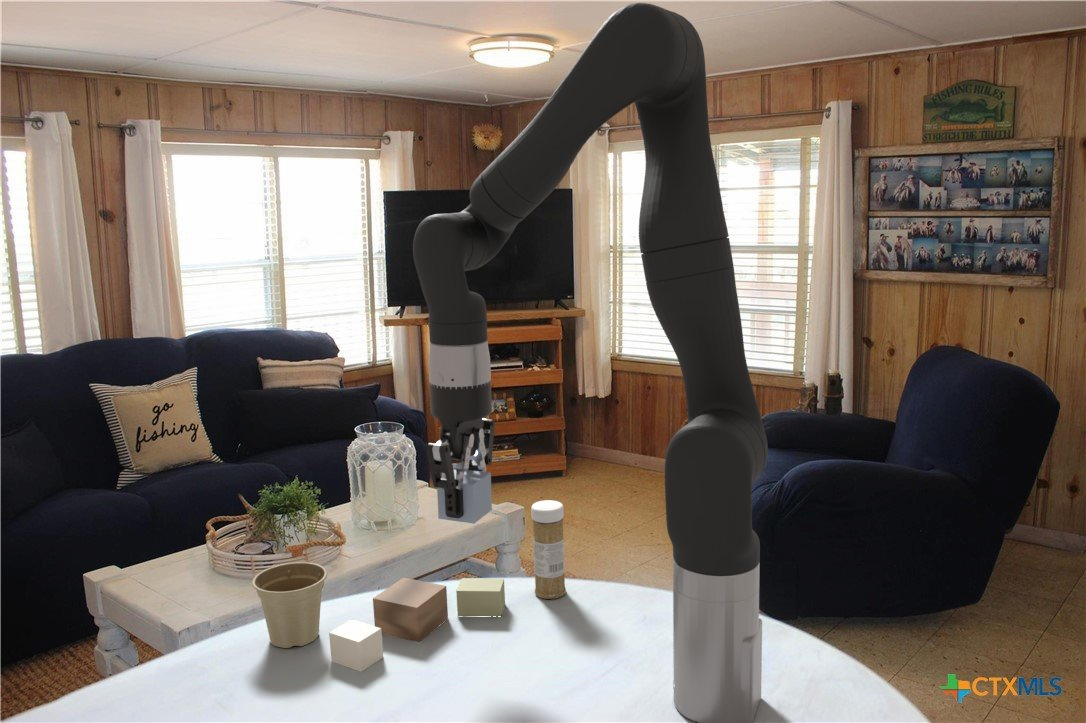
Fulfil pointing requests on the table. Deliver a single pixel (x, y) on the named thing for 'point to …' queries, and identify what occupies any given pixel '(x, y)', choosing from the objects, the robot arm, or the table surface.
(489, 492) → the slate block
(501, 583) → the olive block
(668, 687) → the table surface
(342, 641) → the cream block
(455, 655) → the table surface
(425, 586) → the walnut block
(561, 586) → the sprinkles bottle
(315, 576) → the flower pot
